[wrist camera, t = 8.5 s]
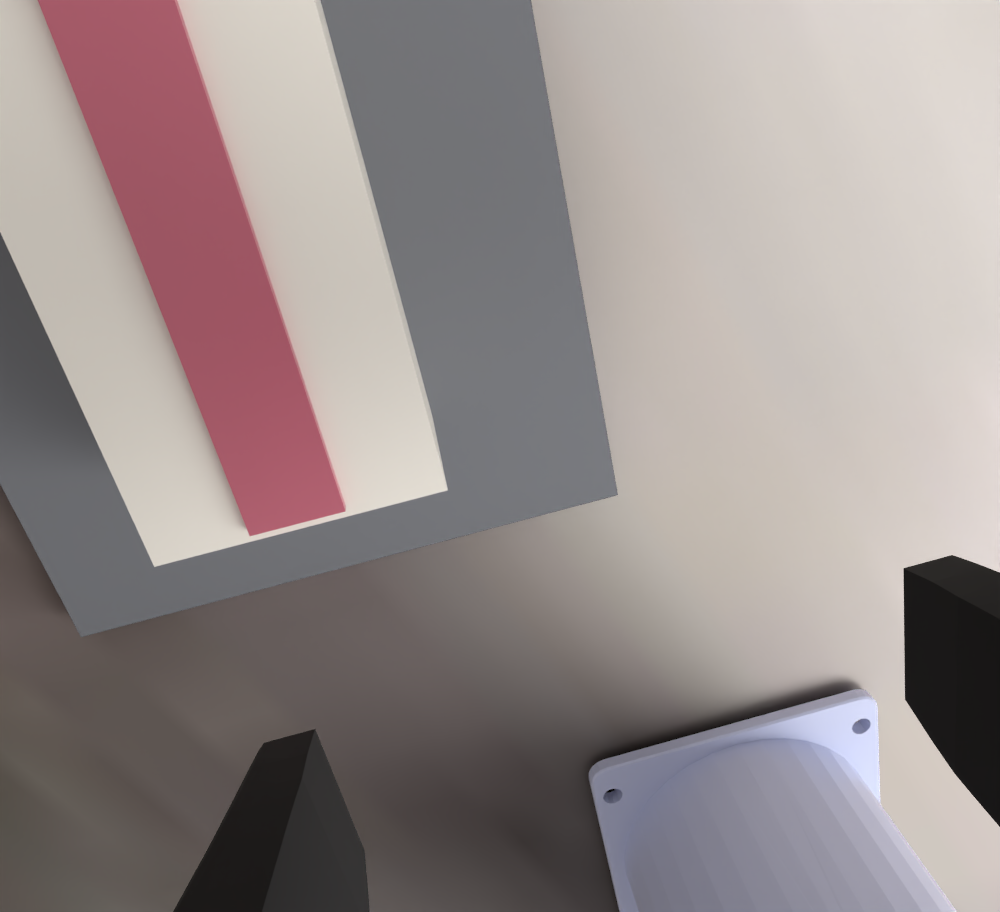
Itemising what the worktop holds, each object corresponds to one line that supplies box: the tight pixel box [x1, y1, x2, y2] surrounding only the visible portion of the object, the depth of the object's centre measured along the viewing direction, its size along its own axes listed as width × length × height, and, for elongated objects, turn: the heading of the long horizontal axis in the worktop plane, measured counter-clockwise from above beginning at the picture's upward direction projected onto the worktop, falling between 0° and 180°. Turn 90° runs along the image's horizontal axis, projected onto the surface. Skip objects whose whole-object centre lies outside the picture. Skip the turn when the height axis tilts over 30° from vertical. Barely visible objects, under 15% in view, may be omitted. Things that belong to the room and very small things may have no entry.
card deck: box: [0, 0, 448, 567], centre depth 14 cm, size 5×9×4 cm, turn 12°
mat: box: [0, 0, 618, 637], centre depth 16 cm, size 14×12×1 cm
